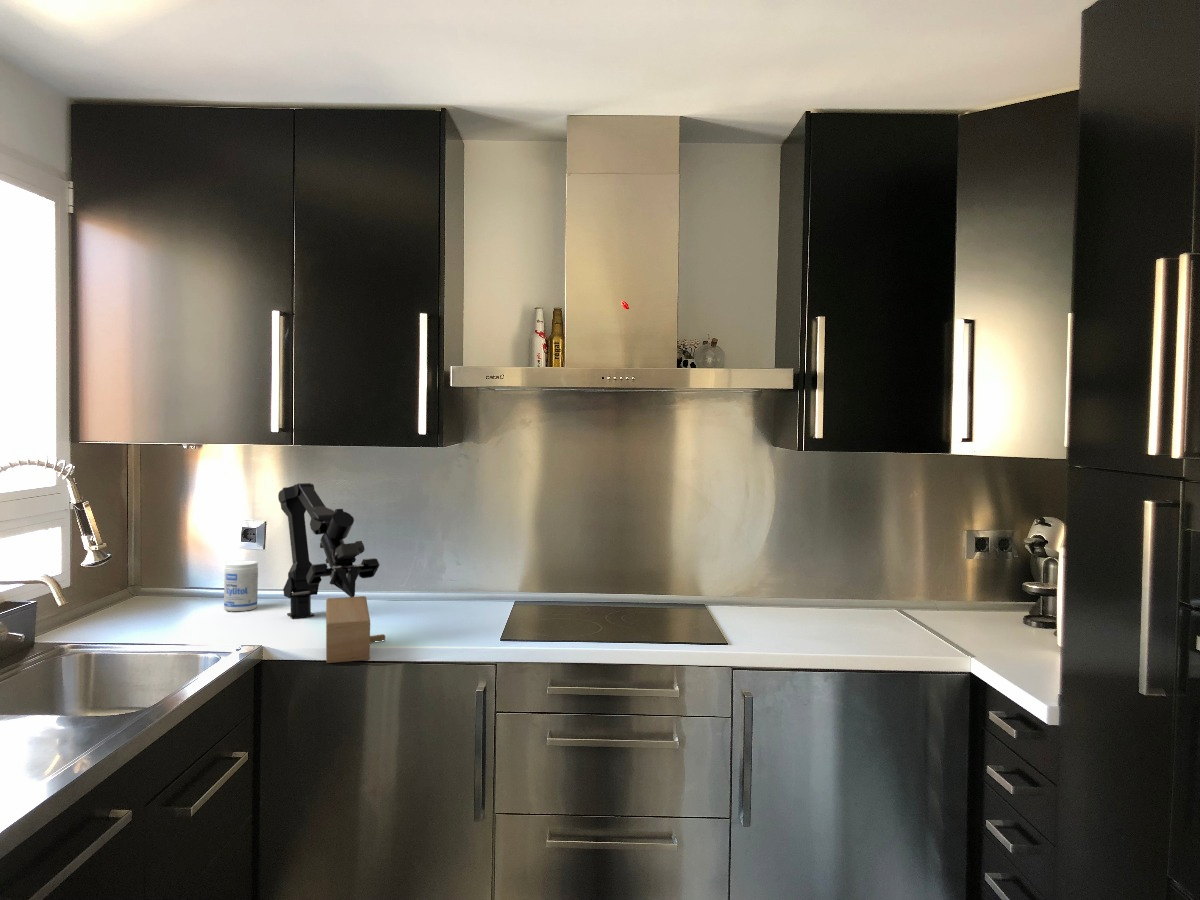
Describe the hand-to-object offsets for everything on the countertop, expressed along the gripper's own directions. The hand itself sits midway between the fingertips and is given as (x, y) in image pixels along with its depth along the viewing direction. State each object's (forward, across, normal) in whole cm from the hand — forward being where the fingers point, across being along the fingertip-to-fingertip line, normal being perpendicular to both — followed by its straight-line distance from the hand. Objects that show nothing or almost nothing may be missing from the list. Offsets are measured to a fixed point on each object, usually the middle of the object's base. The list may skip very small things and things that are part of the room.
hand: (353, 596), depth 207 cm
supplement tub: (-33, -10, +50) cm, 60 cm away
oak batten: (+12, -1, +5) cm, 13 cm away
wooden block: (+4, -2, +3) cm, 5 cm away
